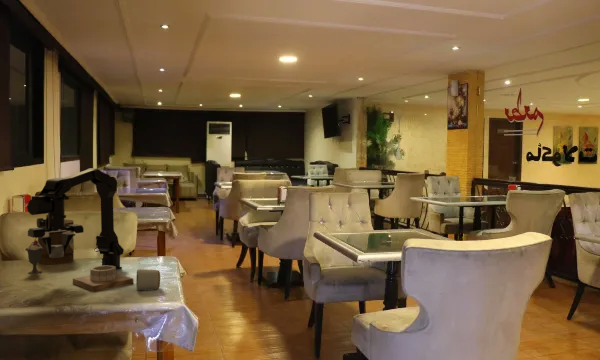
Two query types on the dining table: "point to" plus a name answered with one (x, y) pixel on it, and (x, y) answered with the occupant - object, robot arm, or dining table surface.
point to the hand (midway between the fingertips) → (56, 253)
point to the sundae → (34, 255)
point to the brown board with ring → (102, 279)
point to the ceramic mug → (147, 280)
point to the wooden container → (57, 240)
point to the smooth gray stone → (57, 251)
